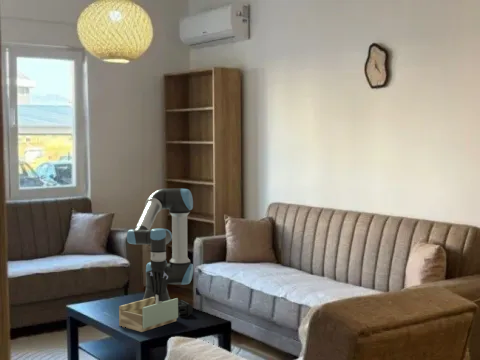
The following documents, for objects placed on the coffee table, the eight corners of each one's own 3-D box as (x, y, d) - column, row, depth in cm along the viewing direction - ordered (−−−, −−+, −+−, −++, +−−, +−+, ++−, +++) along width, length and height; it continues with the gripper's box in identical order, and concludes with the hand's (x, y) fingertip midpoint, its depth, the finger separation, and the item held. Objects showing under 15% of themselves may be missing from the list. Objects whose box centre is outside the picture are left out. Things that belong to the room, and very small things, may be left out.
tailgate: (176, 317, 334) (176, 297, 333) (178, 317, 333) (177, 298, 332) (142, 328, 315) (142, 307, 314) (144, 328, 314) (143, 307, 314)
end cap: (193, 316, 343) (193, 303, 343) (180, 317, 340) (180, 305, 340) (185, 311, 352) (185, 299, 352) (173, 313, 349) (173, 300, 348)
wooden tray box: (154, 315, 344) (153, 296, 343) (176, 320, 334) (176, 301, 333) (119, 325, 325) (119, 306, 324) (141, 332, 315) (141, 311, 314)
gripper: (143, 259, 324) (143, 306, 325) (162, 262, 316) (162, 311, 317) (154, 257, 330) (154, 303, 331) (173, 260, 321) (173, 307, 323)
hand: (158, 307), depth 324 cm, fingers closed
